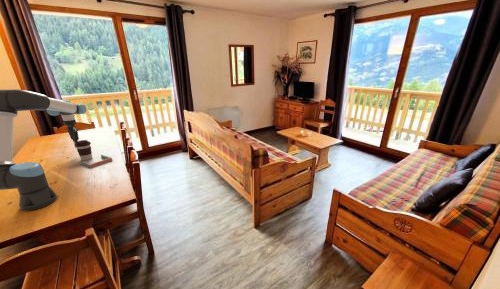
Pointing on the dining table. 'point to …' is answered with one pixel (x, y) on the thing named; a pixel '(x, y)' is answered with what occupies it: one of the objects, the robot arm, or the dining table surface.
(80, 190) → the dining table surface
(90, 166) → the keeper tray
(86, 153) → the coffee cup
